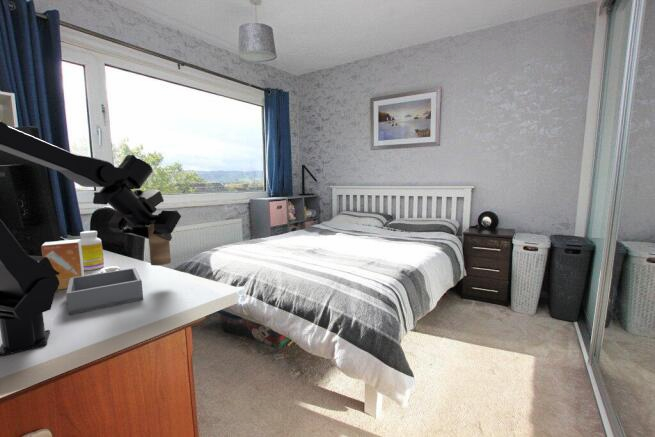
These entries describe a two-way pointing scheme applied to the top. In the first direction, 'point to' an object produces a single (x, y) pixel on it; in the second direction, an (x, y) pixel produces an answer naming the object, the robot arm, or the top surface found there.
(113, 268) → the saw cookie cutter
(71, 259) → the small box
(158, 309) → the top surface
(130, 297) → the grey tote
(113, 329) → the top surface
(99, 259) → the supplement bottle
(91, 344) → the top surface
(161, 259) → the brown cylinder
